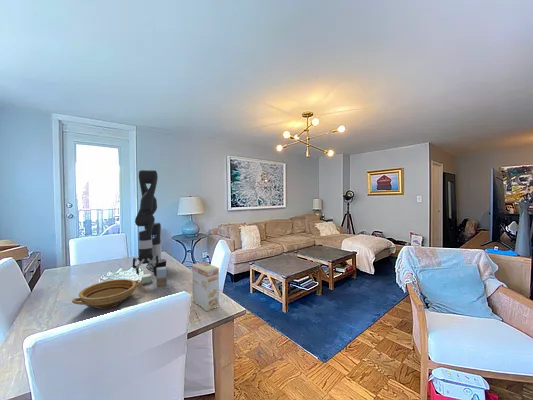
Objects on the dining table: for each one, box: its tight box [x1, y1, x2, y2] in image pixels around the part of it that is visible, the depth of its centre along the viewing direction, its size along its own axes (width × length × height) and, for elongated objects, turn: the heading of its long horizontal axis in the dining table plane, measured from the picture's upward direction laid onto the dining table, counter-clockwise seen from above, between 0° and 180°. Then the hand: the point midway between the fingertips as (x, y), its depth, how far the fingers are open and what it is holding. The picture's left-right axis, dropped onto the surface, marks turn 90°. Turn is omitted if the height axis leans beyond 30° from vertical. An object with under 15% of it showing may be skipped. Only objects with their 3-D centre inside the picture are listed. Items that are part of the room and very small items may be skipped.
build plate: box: [149, 279, 174, 291], centre depth 139 cm, size 12×12×1 cm
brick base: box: [156, 276, 167, 287], centre depth 139 cm, size 5×5×5 cm
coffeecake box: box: [191, 261, 220, 312], centre depth 117 cm, size 15×7×20 cm, turn 44°
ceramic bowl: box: [71, 278, 141, 310], centre depth 118 cm, size 30×24×8 cm
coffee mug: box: [146, 258, 167, 277], centre depth 157 cm, size 12×9×10 cm
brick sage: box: [141, 273, 152, 285], centre depth 144 cm, size 5×5×5 cm
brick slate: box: [156, 265, 167, 280], centre depth 139 cm, size 5×5×5 cm
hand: (146, 273), depth 143 cm, fingers open, 8 cm apart
